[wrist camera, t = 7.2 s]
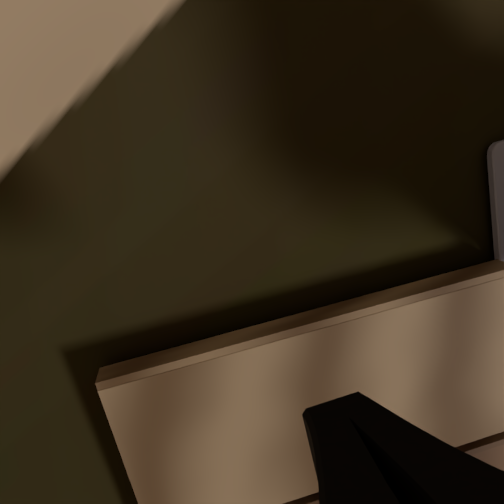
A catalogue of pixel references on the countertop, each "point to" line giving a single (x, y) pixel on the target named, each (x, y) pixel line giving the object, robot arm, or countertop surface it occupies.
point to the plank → (307, 388)
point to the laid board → (486, 449)
